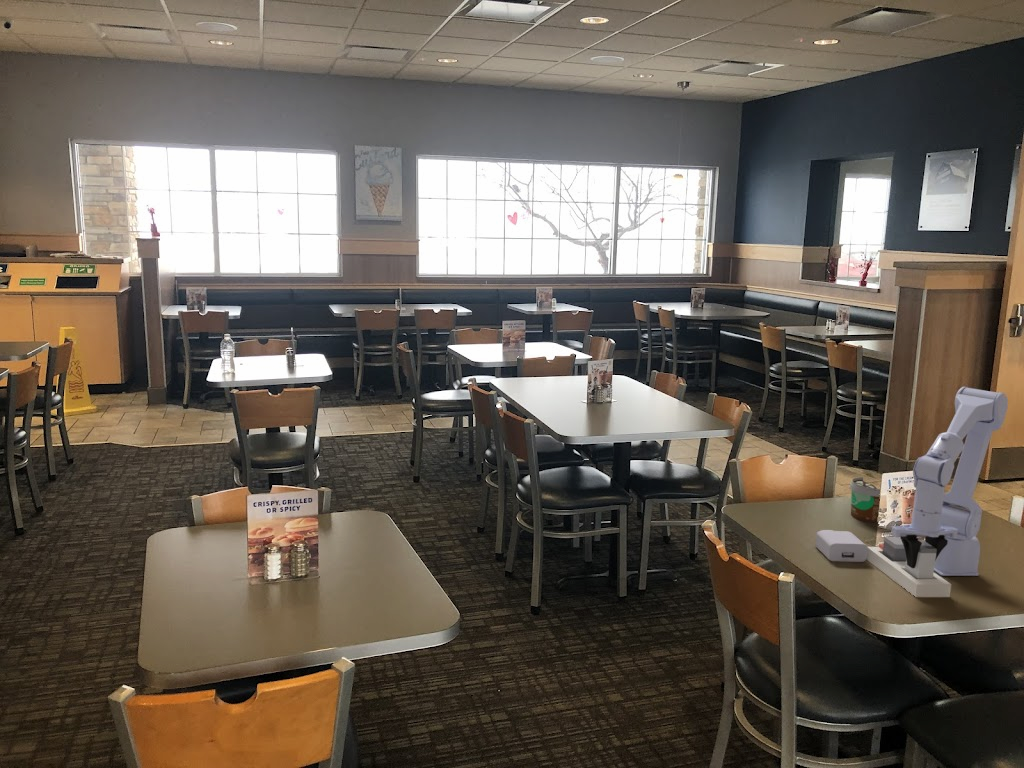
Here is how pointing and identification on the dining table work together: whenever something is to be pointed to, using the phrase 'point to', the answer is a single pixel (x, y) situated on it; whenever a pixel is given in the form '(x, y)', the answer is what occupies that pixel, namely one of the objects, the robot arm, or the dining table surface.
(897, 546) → the charcoal plug
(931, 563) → the grey plug
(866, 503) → the food container
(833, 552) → the charger
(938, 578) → the power strip
